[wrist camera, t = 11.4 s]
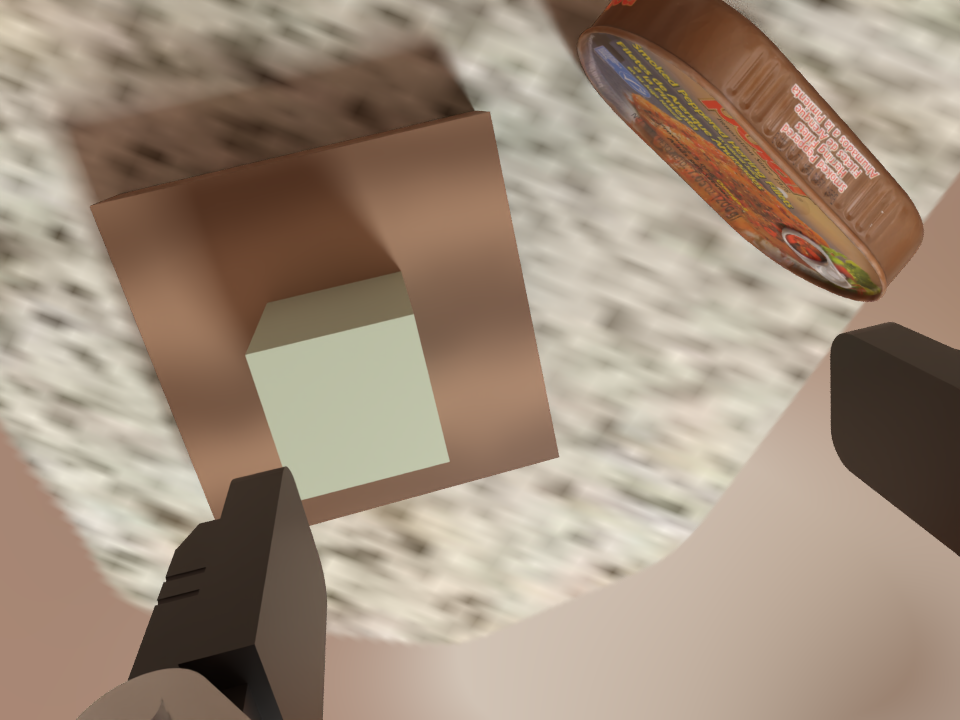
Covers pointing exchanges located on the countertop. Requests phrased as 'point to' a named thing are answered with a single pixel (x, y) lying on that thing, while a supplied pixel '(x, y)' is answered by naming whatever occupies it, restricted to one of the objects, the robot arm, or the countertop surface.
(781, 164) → the tin
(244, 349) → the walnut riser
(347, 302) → the sage block
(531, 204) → the countertop surface
